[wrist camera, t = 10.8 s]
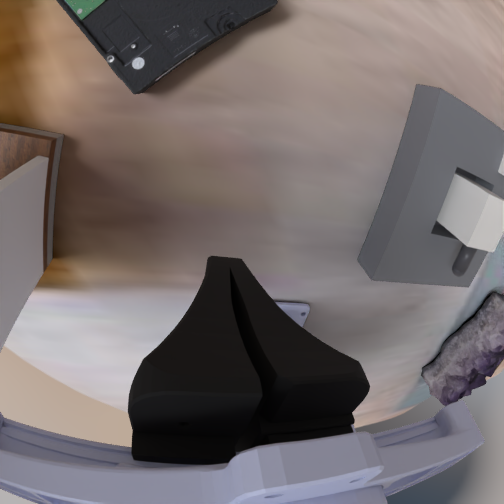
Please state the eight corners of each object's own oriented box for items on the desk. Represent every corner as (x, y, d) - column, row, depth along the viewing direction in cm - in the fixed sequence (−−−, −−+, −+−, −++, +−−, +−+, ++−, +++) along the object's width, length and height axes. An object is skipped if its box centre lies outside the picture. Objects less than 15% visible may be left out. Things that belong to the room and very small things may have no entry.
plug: (441, 248, 27) (476, 284, 22) (411, 243, 26) (448, 282, 21) (470, 179, 23) (514, 206, 18) (442, 166, 22) (489, 194, 17)
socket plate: (454, 271, 29) (472, 291, 26) (357, 260, 26) (375, 286, 23) (507, 141, 22) (533, 153, 18) (416, 84, 18) (448, 89, 15)
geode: (439, 379, 44) (457, 422, 36) (404, 365, 41) (424, 417, 33) (518, 298, 36) (549, 337, 27) (496, 270, 33) (535, 314, 24)
